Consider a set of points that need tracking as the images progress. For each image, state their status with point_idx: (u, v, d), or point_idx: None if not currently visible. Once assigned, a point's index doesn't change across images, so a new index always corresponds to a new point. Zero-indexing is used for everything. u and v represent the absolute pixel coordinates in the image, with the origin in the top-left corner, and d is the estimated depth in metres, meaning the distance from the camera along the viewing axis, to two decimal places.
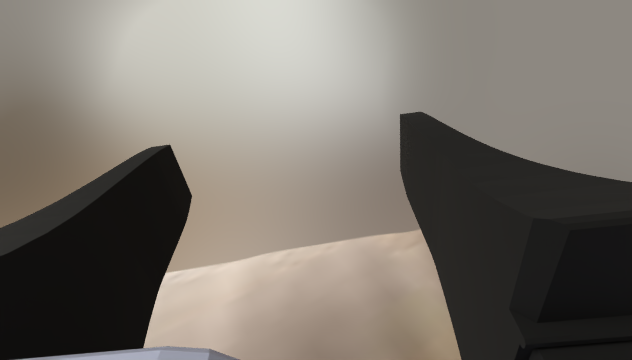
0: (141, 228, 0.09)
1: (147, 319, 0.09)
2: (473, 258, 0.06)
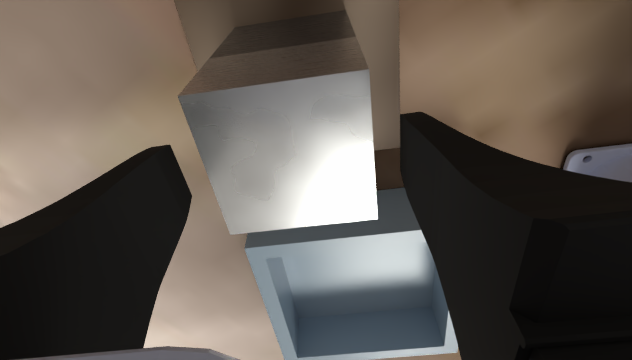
0: (141, 228, 0.09)
1: (147, 319, 0.09)
2: (473, 258, 0.06)
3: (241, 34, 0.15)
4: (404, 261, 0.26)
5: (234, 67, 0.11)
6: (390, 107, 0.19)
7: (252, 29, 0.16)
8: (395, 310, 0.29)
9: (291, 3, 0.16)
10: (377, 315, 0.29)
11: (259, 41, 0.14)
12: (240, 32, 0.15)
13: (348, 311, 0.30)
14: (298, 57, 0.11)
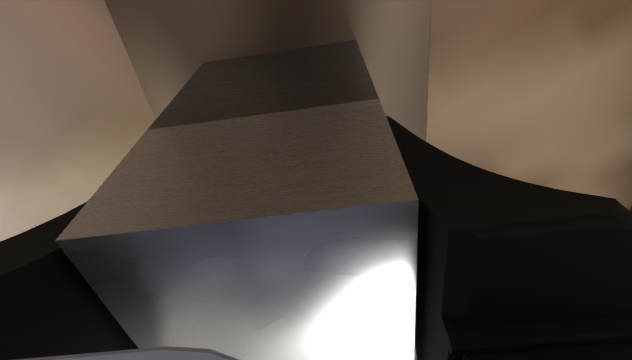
0: None
1: None
2: (419, 263, 0.06)
3: (208, 78, 0.11)
4: None
5: (177, 160, 0.07)
6: None
7: (225, 69, 0.11)
8: None
9: (280, 31, 0.12)
10: None
11: (229, 96, 0.09)
12: (207, 74, 0.11)
13: None
14: (285, 145, 0.07)
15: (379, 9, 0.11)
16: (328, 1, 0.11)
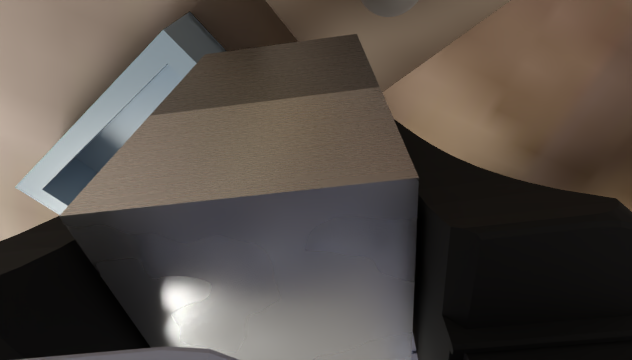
0: None
1: None
2: (419, 263, 0.06)
3: (209, 68, 0.11)
4: None
5: (180, 142, 0.07)
6: (387, 78, 0.20)
7: (226, 60, 0.11)
8: None
9: None
10: None
11: (231, 85, 0.09)
12: (209, 64, 0.11)
13: None
14: (287, 129, 0.07)
15: None
16: None
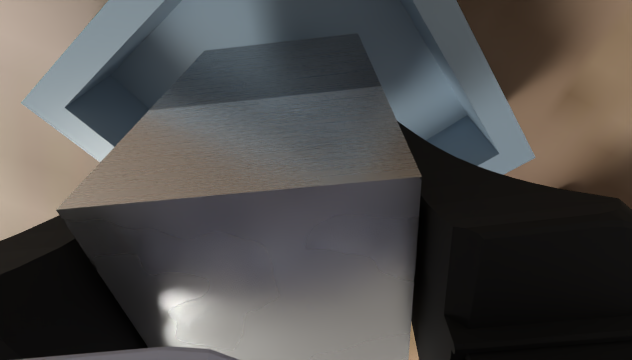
0: None
1: None
2: (421, 263, 0.06)
3: (209, 65, 0.11)
4: None
5: (180, 138, 0.07)
6: None
7: (226, 56, 0.11)
8: None
9: None
10: None
11: (231, 81, 0.09)
12: (209, 61, 0.11)
13: None
14: (288, 126, 0.07)
15: None
16: None
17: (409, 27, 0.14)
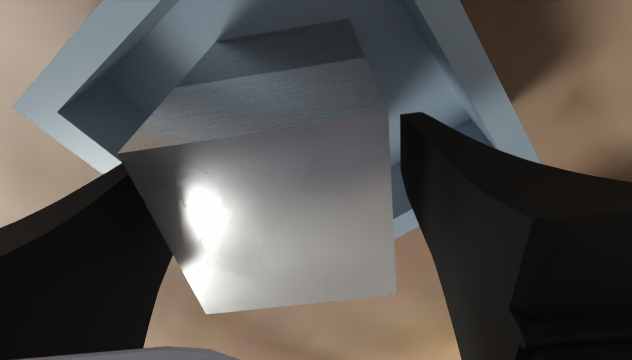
0: (141, 228, 0.09)
1: (147, 320, 0.09)
2: (473, 258, 0.06)
3: (221, 51, 0.12)
4: None
5: (203, 104, 0.08)
6: None
7: (235, 44, 0.13)
8: None
9: None
10: None
11: (241, 62, 0.11)
12: (220, 48, 0.13)
13: None
14: (288, 90, 0.08)
15: None
16: None
17: (411, 29, 0.14)
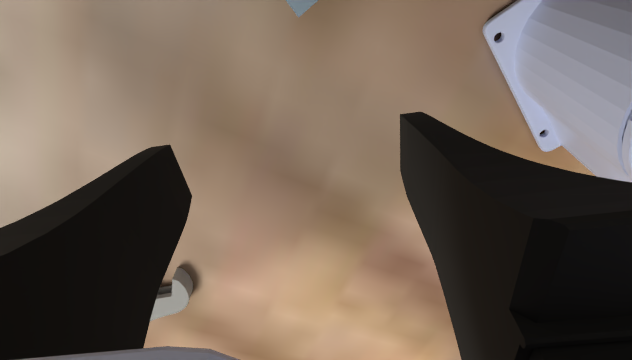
0: (141, 228, 0.09)
1: (147, 320, 0.09)
2: (473, 258, 0.06)
3: None
4: None
5: None
6: None
7: None
8: None
9: None
10: None
11: None
12: None
13: None
14: None
15: None
16: None
17: None
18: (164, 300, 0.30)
